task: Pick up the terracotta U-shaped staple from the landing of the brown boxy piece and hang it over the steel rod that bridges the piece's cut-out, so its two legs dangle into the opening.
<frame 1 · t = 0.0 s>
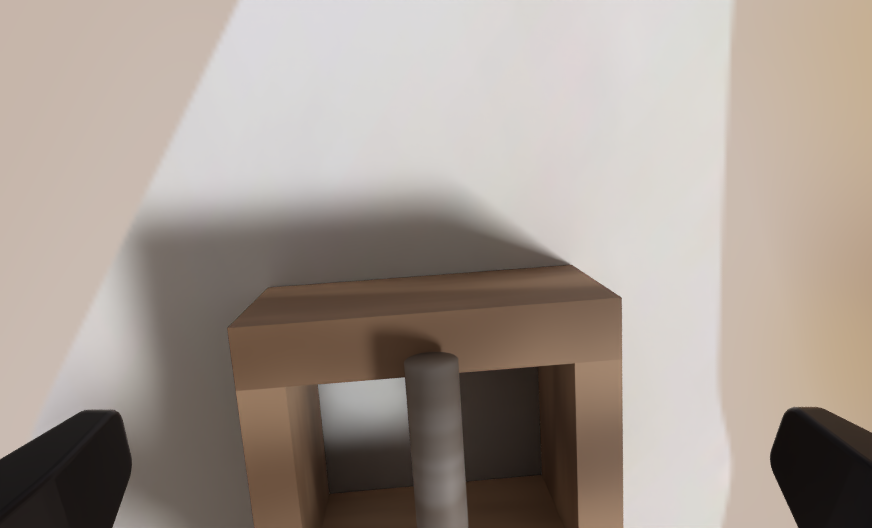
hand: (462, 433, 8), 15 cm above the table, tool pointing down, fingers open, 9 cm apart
brown boxy piece: (434, 462, 25), on the table
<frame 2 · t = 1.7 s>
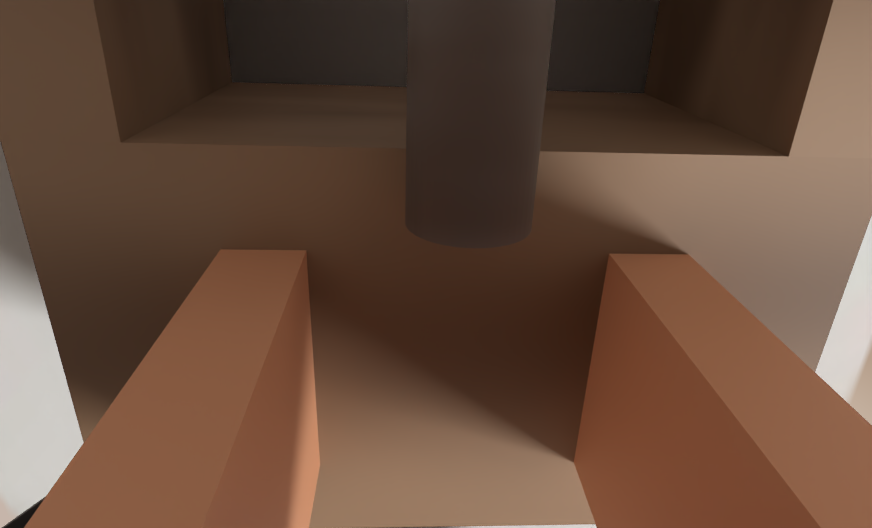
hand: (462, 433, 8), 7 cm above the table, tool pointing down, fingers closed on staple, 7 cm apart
brown boxy piece: (443, 38, 13), on the table
staple: (453, 367, 9), point 5 cm above the table, touching gripper, brown boxy piece
when the fingers open (6 cm above the table, at t = 5.6 s): staple drops 3 cm, resting on brown boxy piece.
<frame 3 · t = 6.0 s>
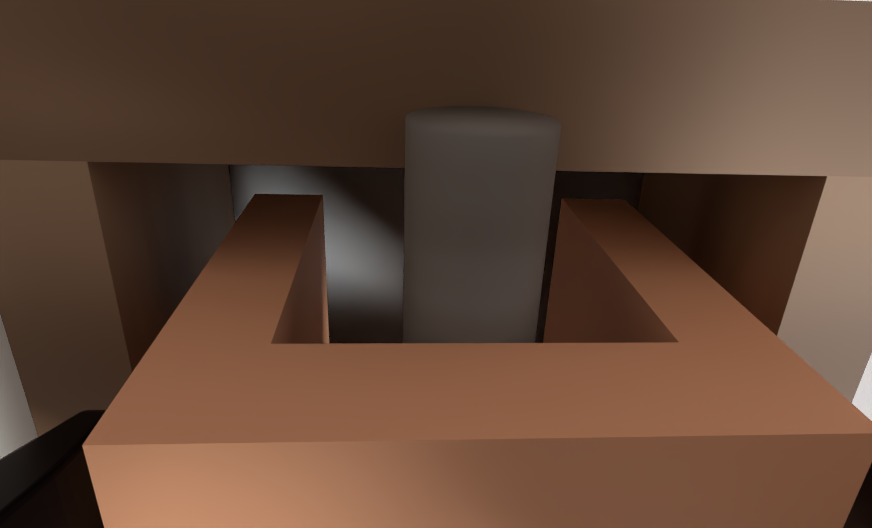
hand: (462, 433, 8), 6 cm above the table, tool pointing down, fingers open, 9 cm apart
brown boxy piece: (434, 345, 15), on the table
staple: (439, 293, 12), point 2 cm above the table, touching brown boxy piece
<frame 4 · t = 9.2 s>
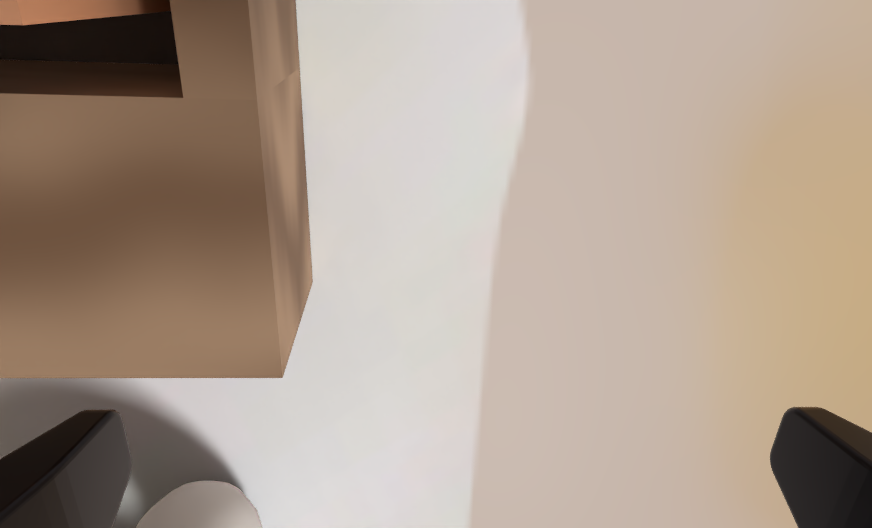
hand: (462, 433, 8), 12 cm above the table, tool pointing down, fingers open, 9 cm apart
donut: (232, 513, 25), on the table
brown boxy piece: (80, 24, 17), on the table
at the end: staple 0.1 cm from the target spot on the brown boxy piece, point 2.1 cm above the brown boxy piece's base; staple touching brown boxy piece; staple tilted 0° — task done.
